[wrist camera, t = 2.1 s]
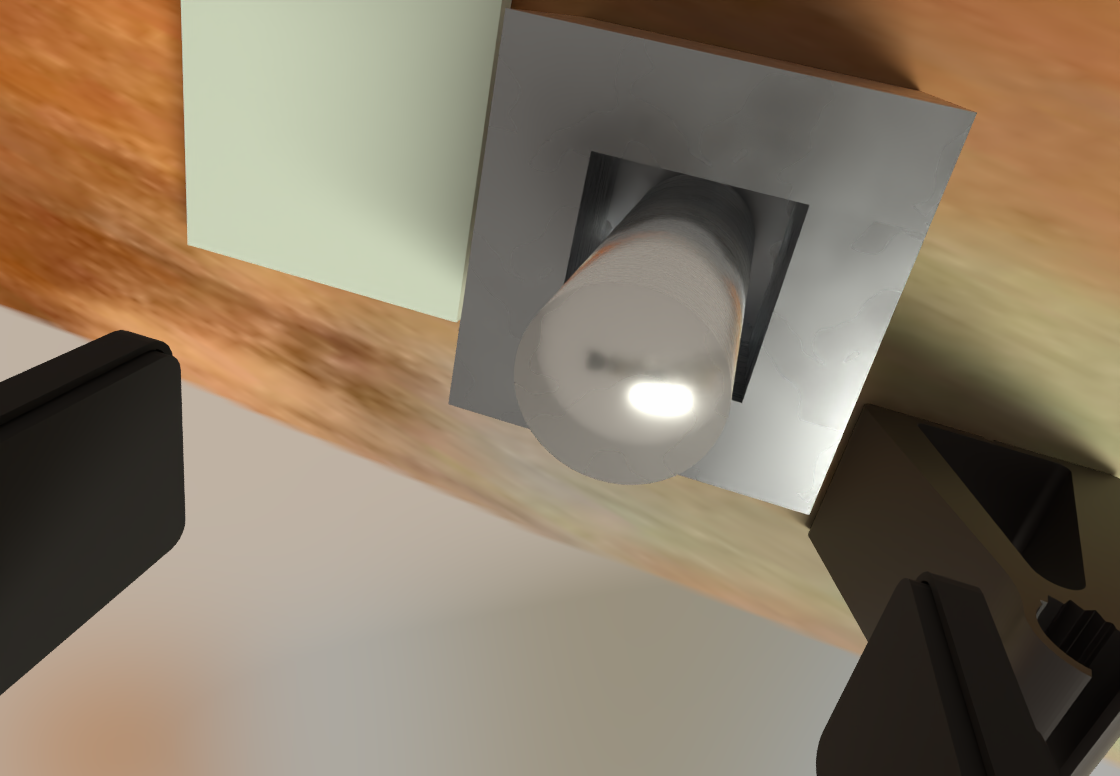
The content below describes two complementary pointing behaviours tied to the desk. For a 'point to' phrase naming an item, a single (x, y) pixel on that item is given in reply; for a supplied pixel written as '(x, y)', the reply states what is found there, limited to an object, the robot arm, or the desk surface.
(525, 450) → the desk surface
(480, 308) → the chuck block
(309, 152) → the mat
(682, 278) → the grey metal cylinder
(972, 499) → the phone stand
